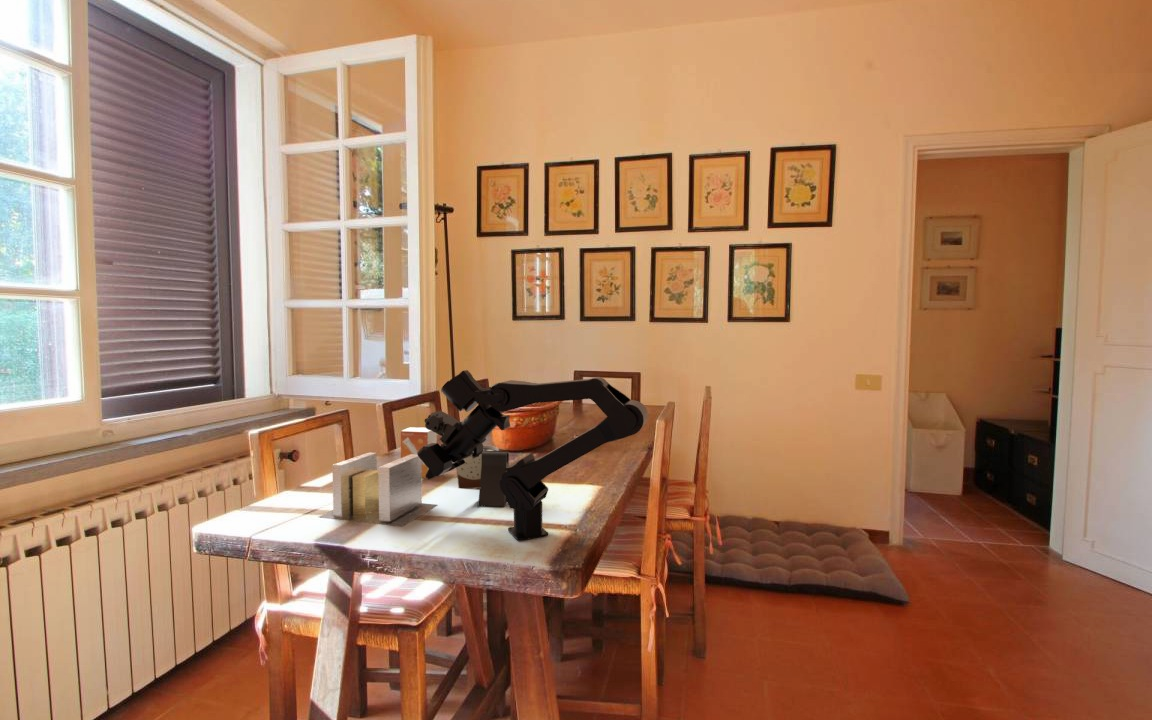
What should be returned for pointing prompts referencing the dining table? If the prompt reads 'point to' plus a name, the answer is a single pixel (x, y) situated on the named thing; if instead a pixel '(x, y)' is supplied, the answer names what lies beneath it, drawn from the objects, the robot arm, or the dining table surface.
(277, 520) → the dining table surface
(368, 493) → the brass block
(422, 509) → the vise base
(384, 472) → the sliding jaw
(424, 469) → the small box
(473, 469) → the brown cake slice
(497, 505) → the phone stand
